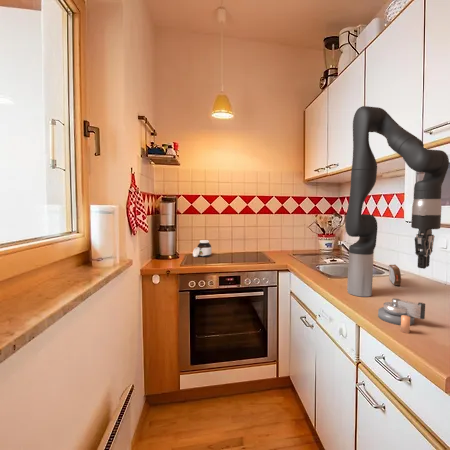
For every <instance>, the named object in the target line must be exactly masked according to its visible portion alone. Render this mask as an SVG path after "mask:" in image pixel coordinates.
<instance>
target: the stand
mask: <svg viewBox="0 0 450 450" xmlns="http://www.w3.org/2000/svg"><path fill="white" fill-rule="evenodd" d="M377 311H378V312H377V318H379V319H380V320H381V321H384V322H387V323H389V324H393V325H396V326H397V325H399V326H400V332H402V333H403V334H410V332H411V331H410V330H411V329H410V328H411V326H412V325H414V324H415V317H411V316H407V315H401V316H398V315H393V314H389V313H387V312H385V311H384V306H383V307H379V308H378V310H377Z"/></svg>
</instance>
